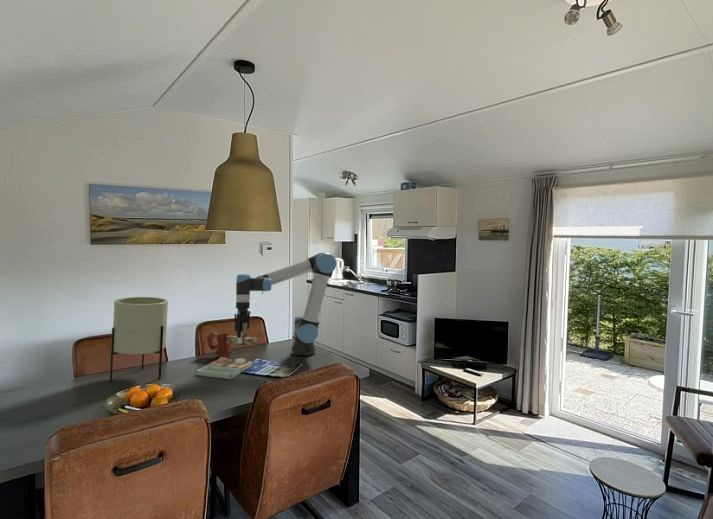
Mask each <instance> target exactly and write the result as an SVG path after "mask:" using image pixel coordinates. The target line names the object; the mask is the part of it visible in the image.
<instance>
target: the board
mask: <svg viewBox="0 0 713 519" xmlns="http://www.w3.org/2000/svg"><path fill="white" fill-rule="evenodd" d="M235 360H236V359H229V358H228V361H227V362H226V363H218V359H217V360H214V361H212V362H210V363H208V365H213V366H222V367H231V368H240V369H241V372H242V371H243V370H245V369H247V368H249V367H250V366H252V365H253V361H249V360H248V361H247V360H246V363H244V364H235ZM253 366H254V365H253ZM253 366H252V367H253Z"/></svg>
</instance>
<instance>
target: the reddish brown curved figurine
mask: <svg viewBox="0 0 713 519" xmlns="http://www.w3.org/2000/svg"><path fill="white" fill-rule="evenodd" d="M229 335H230V332H220V333H217V332H216V331H215V330H214V331H210V333H208V335H207V337H206V342H207V346H208V348H209V349H210V350H211V351H216V357H218V358H219V357H226V358H229V357H230V355H231V354H232V350H231V344H228V343H227V336H229ZM215 338H216V342H217V344H215V343H214V341H213V340H214V339H215Z"/></svg>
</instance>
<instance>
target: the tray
mask: <svg viewBox="0 0 713 519" xmlns="http://www.w3.org/2000/svg"><path fill="white" fill-rule="evenodd" d="M195 372H196V376H198V377H199V376H200V377H207V378H208V377H209V378H216V379H217V378H218V379H225V380H232V379H234V378H236V377H238V376H240V375H241V374H242V373H241V369H240V368H231V367H222V366H213V365H209V364H207V365H204V366H203V367H200V368H198V369H196V371H195ZM240 373H241V374H240ZM239 374H240V375H239Z"/></svg>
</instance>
